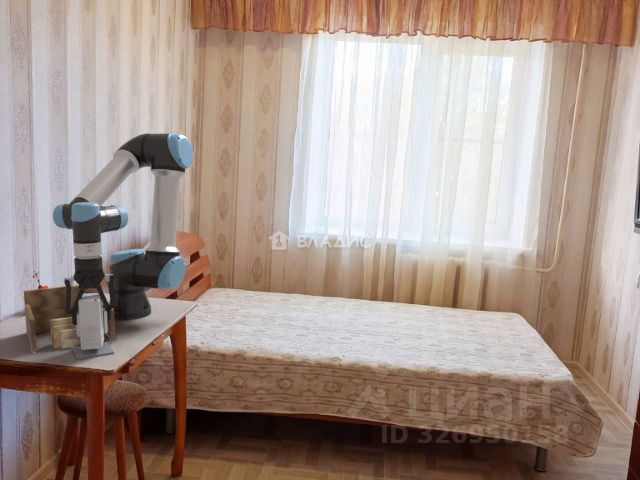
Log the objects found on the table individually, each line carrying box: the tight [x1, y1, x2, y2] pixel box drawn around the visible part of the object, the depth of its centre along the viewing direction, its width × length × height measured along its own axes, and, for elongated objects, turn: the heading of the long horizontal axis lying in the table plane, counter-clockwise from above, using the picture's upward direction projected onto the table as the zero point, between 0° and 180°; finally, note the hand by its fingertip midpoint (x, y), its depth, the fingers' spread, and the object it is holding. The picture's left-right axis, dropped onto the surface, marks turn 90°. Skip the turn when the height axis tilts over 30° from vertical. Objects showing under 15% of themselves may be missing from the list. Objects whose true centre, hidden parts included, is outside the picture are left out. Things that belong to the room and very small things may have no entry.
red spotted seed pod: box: [32, 270, 49, 289], centre depth 213 cm, size 8×7×15 cm
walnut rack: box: [23, 282, 116, 353], centre depth 185 cm, size 23×21×14 cm
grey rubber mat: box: [72, 341, 115, 360], centre depth 173 cm, size 10×10×1 cm
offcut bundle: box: [50, 317, 81, 349], centre depth 179 cm, size 12×5×8 cm, turn 120°
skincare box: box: [78, 293, 105, 350], centre depth 172 cm, size 8×6×15 cm
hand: (92, 333), depth 172 cm, fingers closed on skincare box, 7 cm apart
